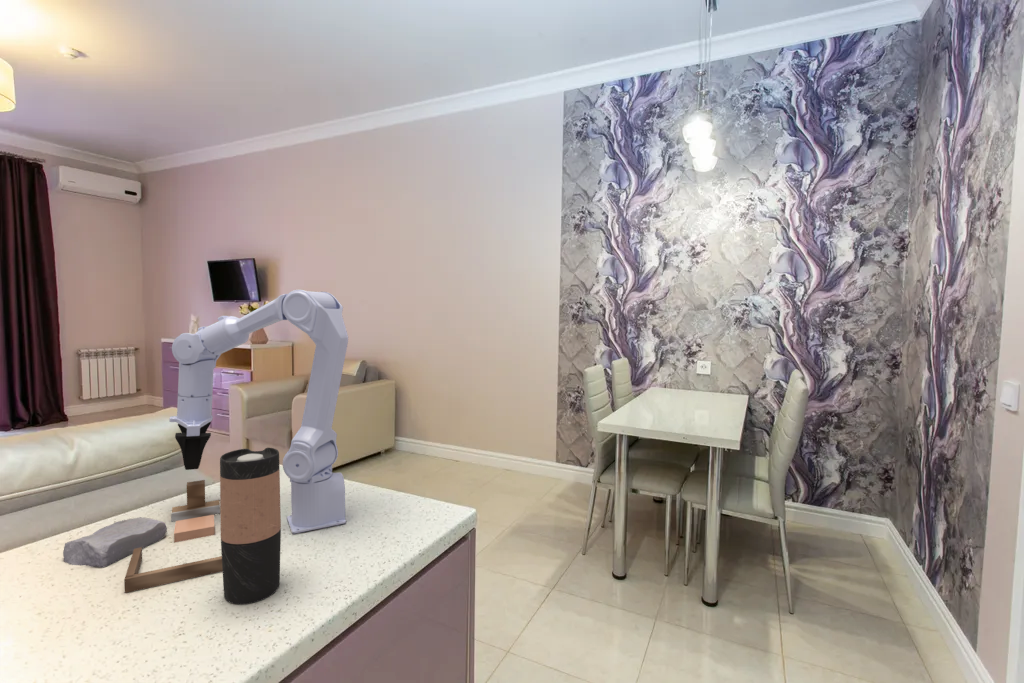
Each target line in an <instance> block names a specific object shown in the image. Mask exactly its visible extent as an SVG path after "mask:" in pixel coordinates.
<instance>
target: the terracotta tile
mask: <svg viewBox="0 0 1024 683" xmlns="http://www.w3.org/2000/svg"><path fill="white" fill-rule="evenodd" d="M174 523H175V524H174V530H173V543H179V542H186V541H190V540H195V539H200V538H207V537H211V536H215V535H216V534H215V533H216V532H215V515H208V516H203V517H197V518H191V519H185V520H179V521H176V522H174Z"/></svg>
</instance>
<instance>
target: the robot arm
mask: <svg viewBox="0 0 1024 683" xmlns="http://www.w3.org/2000/svg"><path fill="white" fill-rule="evenodd" d="M343 311H344V306H343V305H342V304H341V303H340V301H339V300H338V299H337V298H336V296H334V294H332V293H330V292H328V291H312V290H311V291H310V290H304V289H294V290H292V291H291V290H290V292H288V293H283V294H280V295H278V296H277V297H276V298H275V299H273V300H272V301H269V302H267V303H265V304H263V305H261V306H260V307H258V308H257V309H255V310H252V311H251V312H249V313H248V314H247V313H246V314H245V315H243V316H242V317H240V318H239V317H237V316H234V315H220V316H219V317H217V320H218V321H217V322H214V323H212V324H210V325H208V326H200V327H198V329H197V331H196V332H195V333H190V332H184V333H181V334H179V335H178V336H176V337H175V339H174V340H173V342H172V345H171V353H172V355H173V357H174V359H175V360H176V362H178V379H177V380H178V385H177V406H176V407H177V408H176V409H177V410H176V415H174V416H169V419H168V420H169V422H170V423H177V426H178V428H179V429H180V431H181V432H176V433H175V437H174V438H175V440H176V442H177V444H178V445H179V448H180V451H181V455H182V460H183V466H184V470H185V471H186V470H187V471H189V470H198V469H199V467H200V465H201V461H202V457H203V453H204V450H205V447H206V445H207V443H208V442H209V440H210V438H211V435H212V433H211V432H207V430H209V427H210V425H211V422H212V421H213V417H214V416H213V414H212V412H213V393H214V392H213V390H214V388H213V387H214V370H215V368H217V360H218V359H219V358H220V357H221V355H222V354H224V353H226V352H228V351H230V350H232V349H235V348H237V347H238V346H241V345H243V344H245V343H247V342H248V340H249V337H250V334H252V333H254V332H257V331H259V330H261V329H264V328H267V327H269V326H272V325H274V324H276V323H278V322H281V321H288V322H290V323H291V325H294V327H297V328H298V329H299V330H301V331H302V332H303V333H305V334H306V335H307V336H308V337H309V338H310V339H311V340H312V342H313V343H314V344H315V348H314V354H313V360H312V366H311V371H310V378H309V381H308V386H307V393H306V397H305V403H304V410H303V414H302V420H301V426H300V428H299V429H298V430H297V432H296V434H294V436H293V437H292V439H291V444H290V446H289V450H287V452H286V453H285V455H284V457H283V459H282V469H283V472H284V474H285V475H286V476H287V477H288V479H289V482H290V484H291V485H290V488H291V489H290V491H291V492H290V497H291V498H290V499H291V500H290V501H291V504H290V505H291V506H290V509H291V510H290V511H291V515H287V516H286V520H287V523H288V526H289V528H290V531H291V534H299V533H303V532H308V531H309V532H310V531H314V530H319V529H325V528H329V527H334V526H338V525H343V524H346V523H347V520H346V484H345V478H344V475H343V473H342V472H333V465H334V464H335V463H336V462H337V460H338V457H339V456H338V455H339V449H338V445H337V439H338V438H337V436H338V434H337V432H336V431H335V430H334V429H333V428H332V427H333V423H334V418H335V412H336V407H337V403H338V402H337V401H338V397H339V390H340V387H341V386H340V385H341V380H342V375H343V370H344V365H345V359H346V354H347V348H348V344H349V334H348V330H347V327H346V323H345V320H344V317H343Z"/></svg>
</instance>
